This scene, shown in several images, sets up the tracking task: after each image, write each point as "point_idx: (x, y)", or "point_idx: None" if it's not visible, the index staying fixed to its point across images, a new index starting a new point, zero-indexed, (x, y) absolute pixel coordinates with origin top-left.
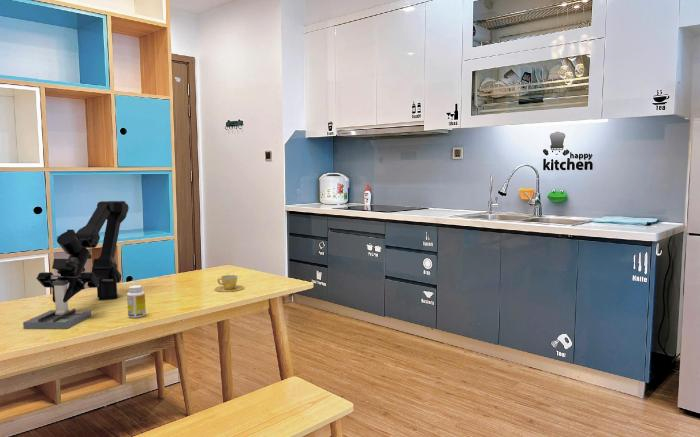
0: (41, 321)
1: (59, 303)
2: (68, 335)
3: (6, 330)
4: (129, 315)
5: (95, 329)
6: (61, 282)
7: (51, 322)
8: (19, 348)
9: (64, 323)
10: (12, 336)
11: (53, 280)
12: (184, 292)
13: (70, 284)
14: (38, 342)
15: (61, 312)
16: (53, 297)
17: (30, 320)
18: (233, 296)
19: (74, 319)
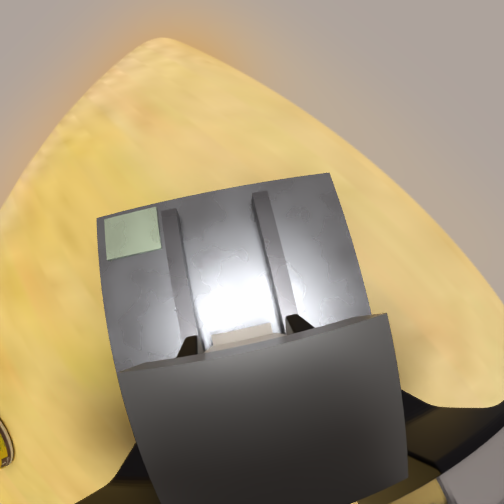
0: (247, 201)
1: (246, 342)
2: (63, 166)
3: (365, 159)
4: None
5: (12, 251)
6: (156, 364)
7: (176, 199)
8: (147, 54)
9: (110, 216)
10: (268, 107)
11: (462, 435)
12: None
13: (151, 490)
14: (123, 91)
15: (225, 332)
16: (307, 329)
17: (325, 206)
18: None
19: (102, 287)
